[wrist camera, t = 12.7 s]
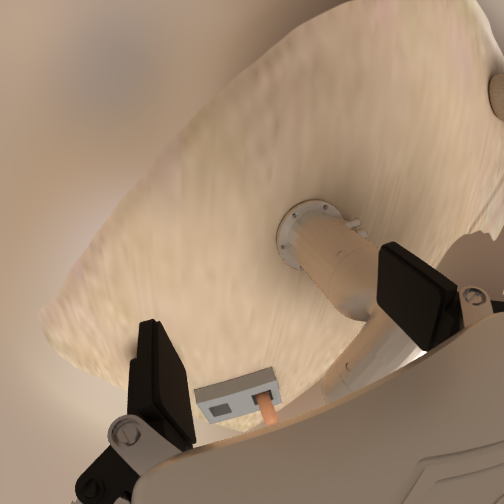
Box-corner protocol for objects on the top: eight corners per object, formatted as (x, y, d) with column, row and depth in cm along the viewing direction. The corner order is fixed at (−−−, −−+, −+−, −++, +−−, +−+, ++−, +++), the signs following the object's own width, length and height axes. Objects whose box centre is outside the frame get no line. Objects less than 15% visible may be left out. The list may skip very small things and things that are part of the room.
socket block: (271, 367, 61) (276, 379, 58) (277, 390, 66) (282, 402, 62) (194, 389, 59) (196, 403, 55) (207, 411, 64) (210, 424, 60)
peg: (263, 379, 63) (277, 416, 53) (265, 386, 64) (279, 422, 54) (250, 383, 62) (264, 420, 53) (253, 390, 64) (266, 426, 54)
